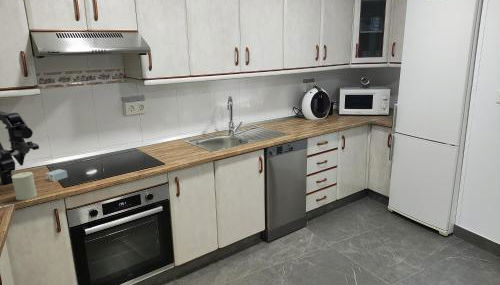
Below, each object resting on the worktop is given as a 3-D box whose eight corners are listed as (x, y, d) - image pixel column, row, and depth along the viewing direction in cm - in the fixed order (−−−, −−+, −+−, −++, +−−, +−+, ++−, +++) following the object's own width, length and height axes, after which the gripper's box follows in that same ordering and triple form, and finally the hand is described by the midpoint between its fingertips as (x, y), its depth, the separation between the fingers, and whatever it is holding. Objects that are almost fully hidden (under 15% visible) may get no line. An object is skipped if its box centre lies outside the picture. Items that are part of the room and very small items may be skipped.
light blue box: (45, 173, 204) (58, 169, 211) (46, 180, 205) (60, 175, 212) (53, 175, 201) (66, 170, 208) (54, 181, 202) (67, 177, 209)
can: (40, 192, 187) (35, 170, 184) (32, 199, 178) (27, 176, 175) (21, 193, 186) (16, 171, 183) (12, 201, 177) (7, 177, 174)
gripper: (3, 143, 178) (10, 173, 182) (41, 134, 193) (47, 162, 197) (-7, 140, 184) (-1, 169, 188) (31, 132, 199) (36, 159, 203)
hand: (21, 165), depth 194 cm, fingers closed
